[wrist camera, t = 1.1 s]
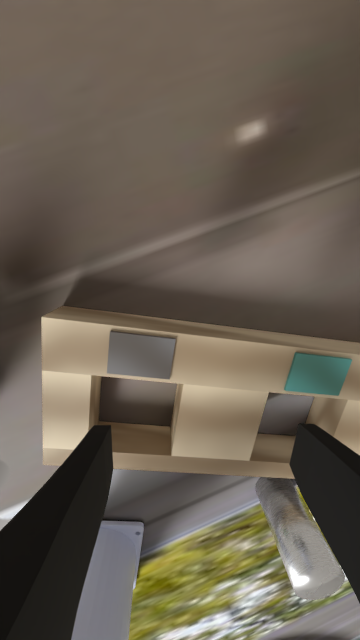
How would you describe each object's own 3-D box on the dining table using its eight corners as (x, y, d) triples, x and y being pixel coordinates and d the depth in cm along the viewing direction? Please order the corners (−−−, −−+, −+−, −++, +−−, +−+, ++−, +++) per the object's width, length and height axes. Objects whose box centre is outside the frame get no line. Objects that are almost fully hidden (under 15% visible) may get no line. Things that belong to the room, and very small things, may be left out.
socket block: (325, 451, 22) (352, 484, 19) (60, 433, 20) (41, 467, 16) (368, 343, 19) (407, 361, 16) (62, 305, 17) (39, 317, 14)
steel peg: (285, 500, 24) (334, 599, 17) (251, 499, 23) (287, 599, 16) (295, 472, 23) (351, 565, 16) (260, 470, 22) (302, 565, 15)
